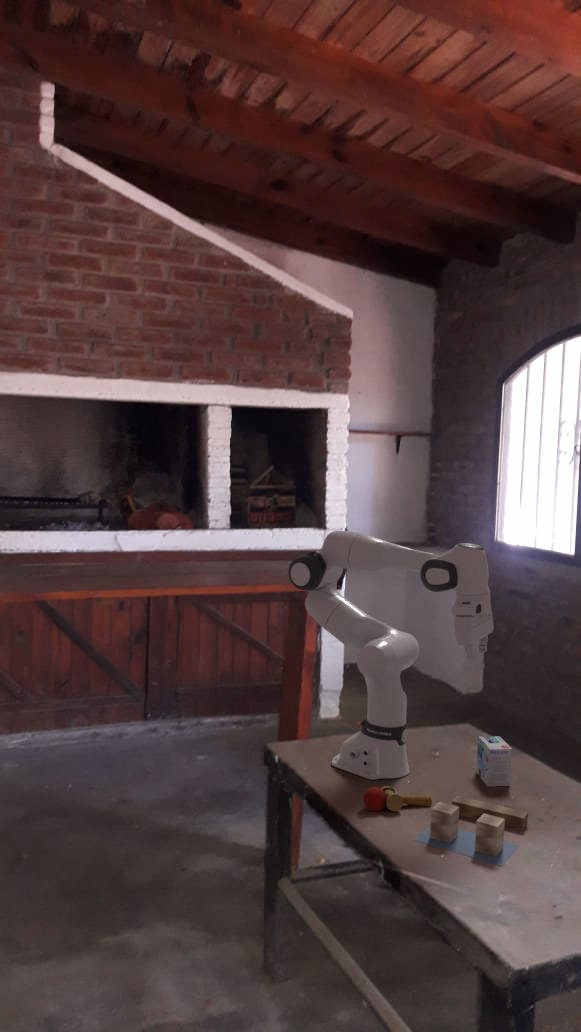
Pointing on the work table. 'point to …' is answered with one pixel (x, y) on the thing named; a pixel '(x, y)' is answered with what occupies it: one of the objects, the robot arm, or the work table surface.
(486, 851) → the pillar right
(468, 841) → the board
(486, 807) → the beam
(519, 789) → the work table surface
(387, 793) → the kendama
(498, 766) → the light bulb box
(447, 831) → the pillar left
